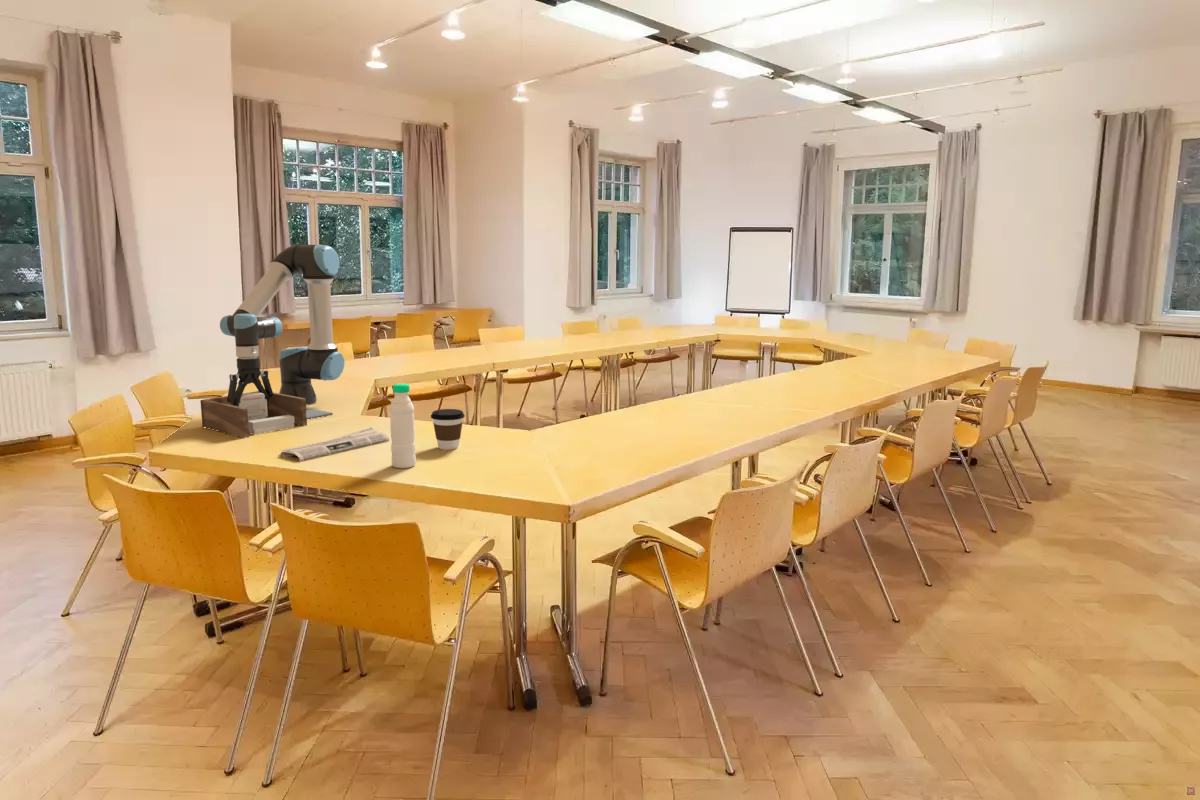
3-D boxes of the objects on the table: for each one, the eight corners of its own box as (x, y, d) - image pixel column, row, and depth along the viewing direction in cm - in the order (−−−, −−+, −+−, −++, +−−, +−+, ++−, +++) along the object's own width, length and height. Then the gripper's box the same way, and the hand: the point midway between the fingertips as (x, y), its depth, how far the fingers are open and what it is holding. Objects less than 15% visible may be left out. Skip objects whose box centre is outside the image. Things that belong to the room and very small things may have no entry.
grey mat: (309, 410, 316) (309, 408, 316) (332, 414, 308) (332, 412, 308) (281, 415, 305) (280, 413, 305) (303, 420, 297) (303, 418, 297)
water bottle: (393, 462, 243) (391, 382, 238) (417, 462, 243) (415, 382, 238) (389, 469, 236) (386, 386, 231) (414, 468, 236) (411, 386, 232)
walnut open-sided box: (264, 416, 304) (262, 390, 302) (307, 425, 290) (305, 398, 288) (202, 427, 284) (200, 400, 282) (245, 438, 270) (242, 409, 268)
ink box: (263, 423, 292) (261, 391, 290) (267, 425, 289) (265, 393, 286) (238, 426, 287) (235, 393, 285) (242, 428, 283) (239, 396, 281)
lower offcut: (288, 427, 289) (287, 421, 288) (294, 429, 286) (293, 422, 286) (248, 434, 277) (248, 428, 276) (254, 436, 275) (254, 429, 274)
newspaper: (300, 463, 242) (299, 452, 241) (276, 456, 249) (276, 445, 248) (392, 441, 270) (391, 431, 269) (368, 436, 277) (368, 426, 277)
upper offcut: (289, 421, 288) (288, 414, 287) (294, 422, 285) (294, 416, 285) (248, 427, 277) (247, 421, 277) (253, 429, 274) (252, 422, 274)
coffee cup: (436, 453, 255) (435, 416, 252) (427, 445, 264) (426, 410, 262) (469, 449, 260) (469, 413, 257) (459, 442, 269) (458, 407, 267)
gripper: (224, 361, 272) (229, 425, 276) (281, 355, 290) (285, 415, 294) (212, 359, 276) (217, 422, 280) (269, 353, 294) (273, 412, 298)
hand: (252, 418), depth 287 cm, fingers closed on ink box, 9 cm apart
